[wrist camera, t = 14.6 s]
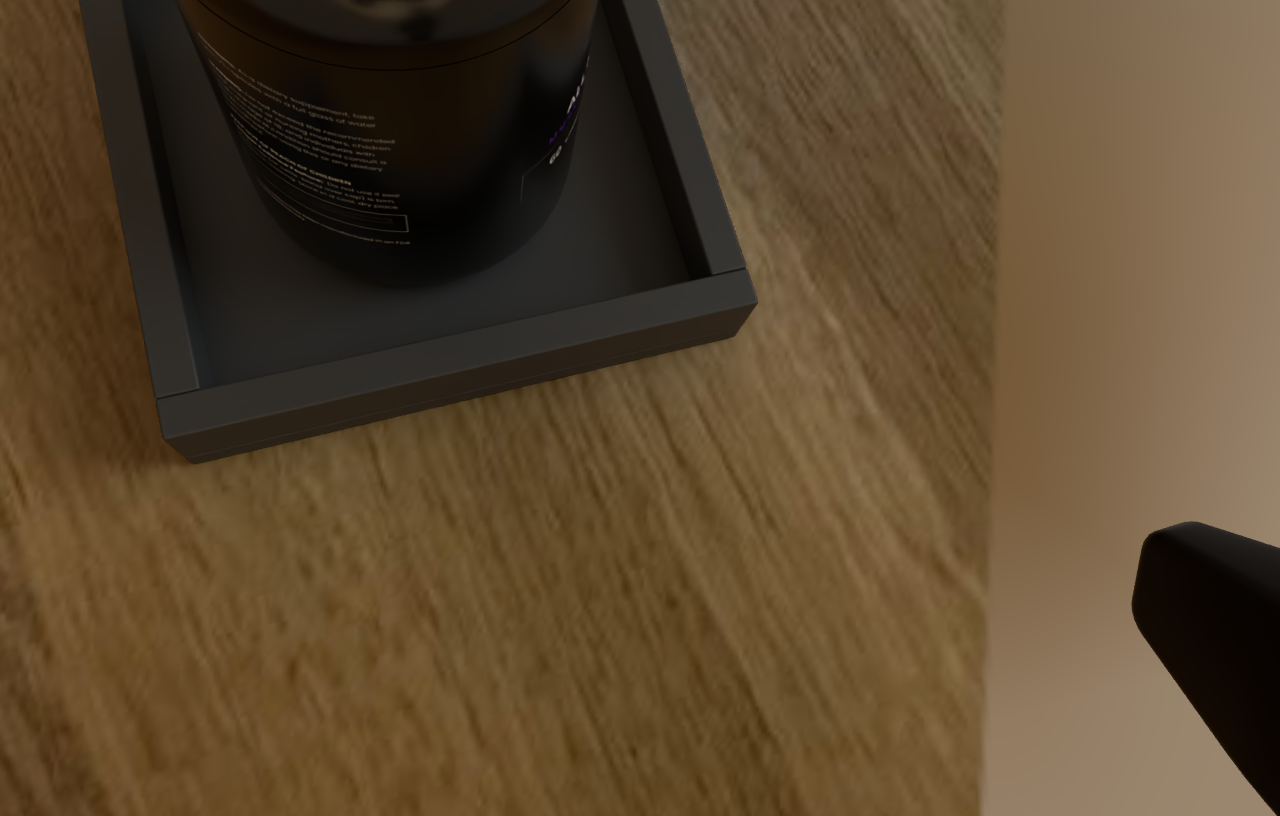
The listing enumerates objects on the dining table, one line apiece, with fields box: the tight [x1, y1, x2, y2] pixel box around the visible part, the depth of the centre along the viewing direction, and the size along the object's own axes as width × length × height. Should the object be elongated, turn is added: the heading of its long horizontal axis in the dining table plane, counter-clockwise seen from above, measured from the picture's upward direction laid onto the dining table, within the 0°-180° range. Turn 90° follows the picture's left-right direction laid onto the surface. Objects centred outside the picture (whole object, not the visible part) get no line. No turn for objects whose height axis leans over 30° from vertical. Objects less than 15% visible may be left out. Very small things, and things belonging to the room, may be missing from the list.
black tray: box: [79, 0, 758, 464], centre depth 22 cm, size 12×12×2 cm
